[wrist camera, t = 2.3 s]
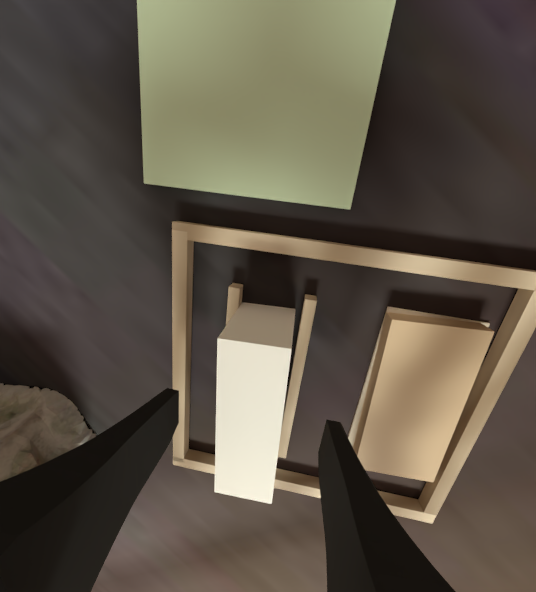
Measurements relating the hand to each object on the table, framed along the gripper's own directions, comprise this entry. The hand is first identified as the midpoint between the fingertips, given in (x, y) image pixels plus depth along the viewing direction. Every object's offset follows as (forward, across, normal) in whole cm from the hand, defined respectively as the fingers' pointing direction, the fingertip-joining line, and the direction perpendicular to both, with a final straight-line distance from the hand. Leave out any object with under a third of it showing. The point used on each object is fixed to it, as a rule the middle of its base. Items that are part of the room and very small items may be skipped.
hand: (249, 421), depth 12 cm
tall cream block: (+4, 0, 0) cm, 4 cm away
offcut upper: (+4, -9, 0) cm, 9 cm away
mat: (+4, +2, -15) cm, 16 cm away
